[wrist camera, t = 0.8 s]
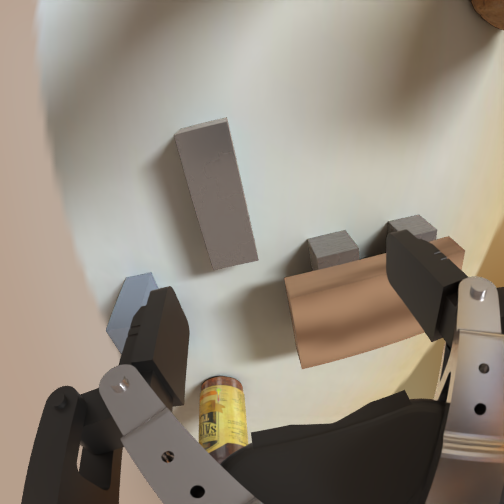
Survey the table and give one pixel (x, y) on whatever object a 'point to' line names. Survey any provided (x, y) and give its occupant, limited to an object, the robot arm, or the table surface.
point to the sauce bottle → (222, 417)
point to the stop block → (129, 306)
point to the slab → (352, 308)
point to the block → (491, 11)
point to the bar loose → (217, 192)
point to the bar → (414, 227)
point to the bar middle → (332, 250)
